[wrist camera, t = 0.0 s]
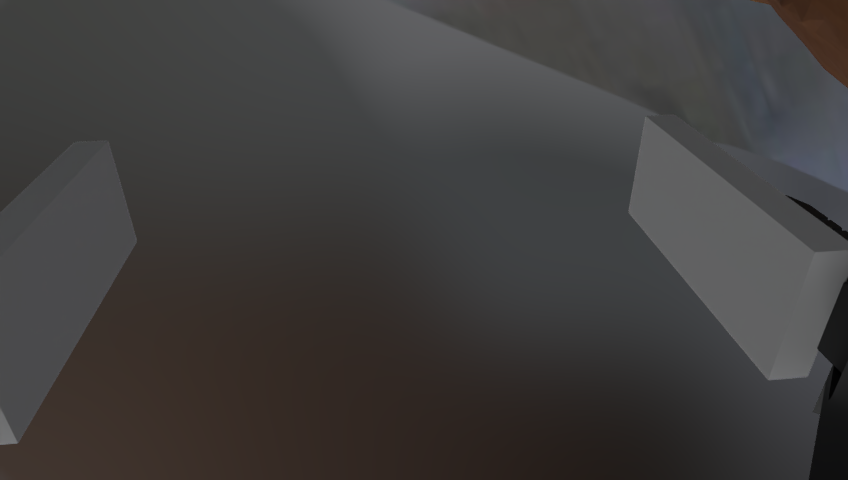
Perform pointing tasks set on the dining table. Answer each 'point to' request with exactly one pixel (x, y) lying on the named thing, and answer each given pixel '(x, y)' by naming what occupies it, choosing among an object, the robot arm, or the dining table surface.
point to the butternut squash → (819, 30)
